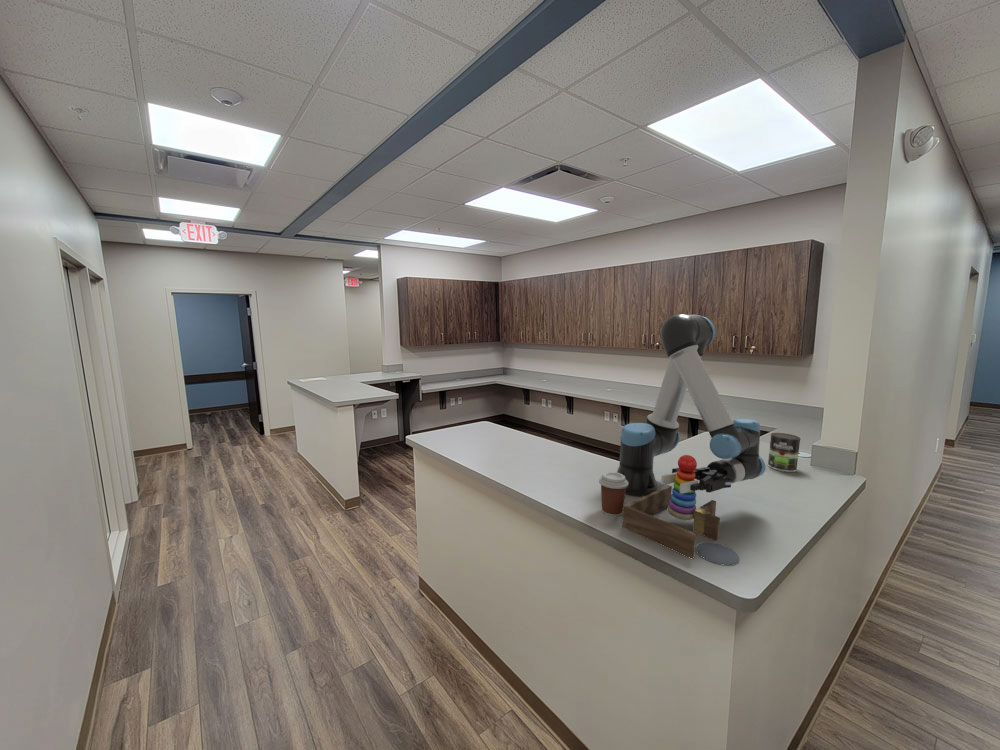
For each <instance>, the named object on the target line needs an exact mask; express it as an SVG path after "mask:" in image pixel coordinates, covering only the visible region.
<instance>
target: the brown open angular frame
mask: <svg viewBox="0 0 1000 750" xmlns="http://www.w3.org/2000/svg"><path fill="white" fill-rule="evenodd" d="M672 489H673V488H672V485H670V484H667V485H666V486H665V485H664V487H662V488H659V489H657V491H655V492H652V493H650V494H648V495H646V496H641V497H640V498H638V499H635V500H634V501H630V502H629V503H627V504H625V505H623V513H622V522H621V523H622V524H621V527H622V528H623V529H626V530H628V531H630V532H633V533H634V534H637V535H639V536H641V537H643V538H645V539H647V538H648V540H650V541H651V542H652V541H653V542H654V543H656V542H657V543H656V544H658V543H659V544H658V545H660V544H662V545H664V546H663V547H665V546H666V547H665V548H667V547H668V548H667V549H669V548H670V549H669V550H671V549H673V550H675V551H677V552H676V553H678V552H679V553H678V554H680V553H681V554H680V555H682V554H683V555H682V556H684V555H685V557H686V556H687V558H688V557H690V558H692V559H694V558H695V550H696V535H697V533H695V532H693V531H689V530H688V529H685V528H683V527H680V526H679V525H676V524H673V523H671V522H668V521H665V520H663V519H661V518H658V517H656V516H654V514H655V513H658V512H659V511H662V510H664V509H666V508H668V506H669V500H670V499H671V495H672ZM699 508H702V509H705V510H707V511H710V514H706V522H705V535H704V537H706V538H708V539H711V540H712V541H715V542H716V541H718V540H719V533H720V532H719V531H720V520H721V517H719V516H717V515H716V509H717V501H716V500H714V499H711V500H709V501H708V502H707V503H705V504H703V505H701V506H700V507H699ZM662 545H661V546H662ZM673 550H672V551H673ZM675 551H674V552H675ZM693 557H694V558H693ZM690 558H689V559H690Z"/></svg>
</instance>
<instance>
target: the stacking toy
mask: <svg viewBox="0 0 1000 750" xmlns="http://www.w3.org/2000/svg"><path fill="white" fill-rule="evenodd" d="M677 466H678V468H680V469H679V470H678V471H677V476H676V477H675V482H674V483H673V488H672V490H671V499H670V500H669V506H667V512H668V514H669V515H670V516H671V517H673V518H675V519H678V520H683V521H691V520H694V510H696V509H697V506H696V504H697V493H696V491H691V492H687V493H683V494H681V493H680V484H681V483H685V482H689V481H694V480H695V479H694V478H695V473H694V472H693V471H694V470H695V469H696V468H698V467H697V466H698V462H697V460H696V458H695V457H693V456H692V455H689V454H684V455H682V456H680V457H679V458H678V460H677Z"/></svg>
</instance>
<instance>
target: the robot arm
mask: <svg viewBox="0 0 1000 750" xmlns="http://www.w3.org/2000/svg"><path fill="white" fill-rule="evenodd" d="M715 337H716V328H715V325H714V324H713V322H712V321H711V320H710V319H709V318H708V317H705V316H703V315H702V316H701V315H699V314H684V313H683V314H682V313H681V314H678V313H677V314H673V315H672V316H670V317H668V318H667V319H665V321H664V323H663V324H662V326H661V329H660V341H661V344H662V347H663V349H664V352H665V354H666V356H667V358H668V359H669V360H668V363H667V367H666V370H665V372H664V376H663V379H662V383H661V386H660V389H659V393H658V396H657V399H656V401H655V402H656V403H655V405H654V408H653V410H652V411H653V412H652V413H650V414H647V416H646V419H645V423H644V422H636V423H633V422H631V423H627V424H625V425H624V426H623V427H622V428H621V431H620V432H621V433H620V437H619V438H620V447H619V448H620V449H619V464H618V465H619V466H618V468H617V471H616V473H620V474H622V475H624V476H625V479H626V480H627V481H628V483H629V485H628V487H626V491H625V495H629V496H634V497H644V496H646V495H648V494H650V493H652V492H655V491H657V490H658V483H657V480H656V477H655V473H654V458H655V457H657V456H660V455H664V454H667V453H669V452H671V451H672V450H674V449H675V448H676V447H677V446H678V445H679V441H680V432H679V427H680V424H679V422H678V416H679V414H680V413H679V412H680V410H681V407H682V404H683V401H684V398H685V395H686V392H687V391H688V393H689V395H690V396H691V399H692V401H693V403H694V405H695V407H696V410H697V411H698V413H699V415H700V417H701V419H702V421H703V424H704V425H705V427H706V429H707V431H708V434H709V437H710V441H709V449H710V451H711V453H712V454H713V455H714V456H715V457H717V458H719V460H716V461H711V462H710V463H709V464H708V465H707V466H704V467H700V468H699V467H696V469H695V470H694V471H693V472H694V473H695V478H694V481H689V482H685V483H681V484H680V493H681V494H683V493H687V492H691V491H695V492H696V491H705V492H706V493H713V492H716V491H720V490H721V489H725V488H726V489H727V488H731V487H732V484H735V483H738V482H742V481H743V482H744V481H746V480H753V479H756V478H758V477H760V476H762V475H764V473H765V472H766V470H767V469H766V468H767V467H766V466H767V465H766V463H765V461H764V459H763V458H762V457H761V456H760V437H761V424H760V422H759V421H757V420H755V419H749V418H735V419H734V420H733V419H732V418H731V415H730V413H729V412H728V410H727V407H726V406H725V403H724V401H723V400H722V397H721V395H720V394H719V391H718V390H717V388H716V386H715V383H714V382H713V379H712V377H711V376H710V374H709V373H708V370H707V368H706V366H705V364H704V362H703V360H702V358H703V356H704V354H705V351H706V348H707V347H708V346H709V345H710V344H712V342H713V341H714V340H715ZM679 469H680V468H679V467H675V468H674V467H673V468H672V469H671V473H668V474H662V475H661V481H660V482H661V483H660V484H661V485H662V486H665V485H666V486H667V485H670V484H674V482H675V477H676V476H677V471H678V470H679Z"/></svg>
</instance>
